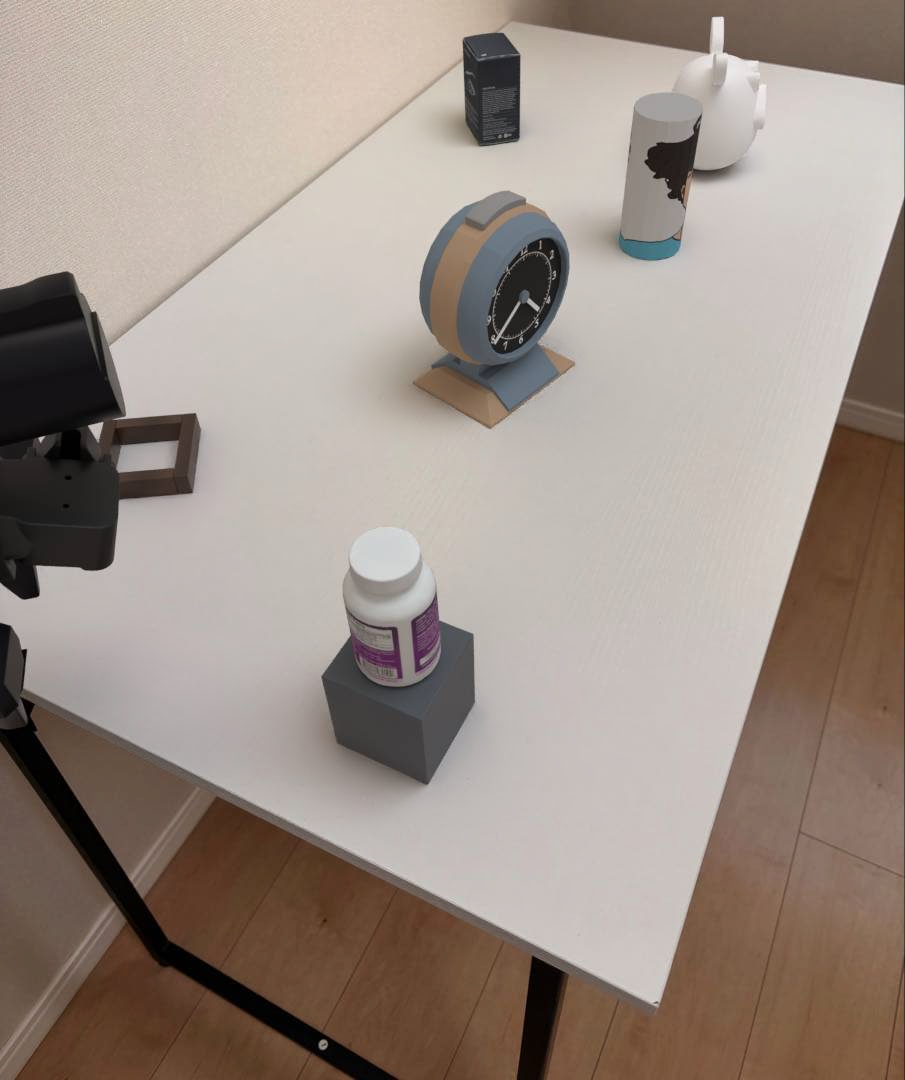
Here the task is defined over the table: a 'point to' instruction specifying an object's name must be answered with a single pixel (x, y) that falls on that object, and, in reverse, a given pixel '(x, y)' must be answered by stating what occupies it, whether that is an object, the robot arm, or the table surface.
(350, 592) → the pill bottle
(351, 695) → the block
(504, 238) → the alarm clock
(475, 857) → the table surface
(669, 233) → the white cylinder
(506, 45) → the box
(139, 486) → the holder
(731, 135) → the piggy bank
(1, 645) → the robot arm
